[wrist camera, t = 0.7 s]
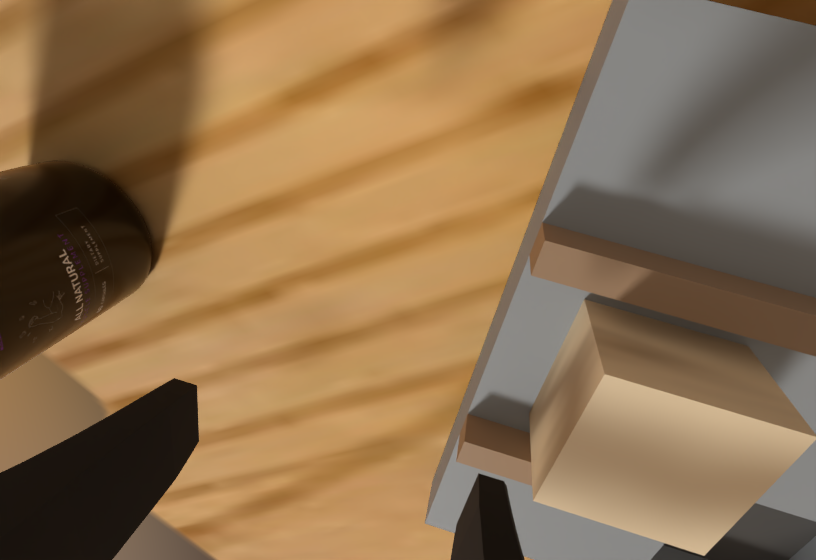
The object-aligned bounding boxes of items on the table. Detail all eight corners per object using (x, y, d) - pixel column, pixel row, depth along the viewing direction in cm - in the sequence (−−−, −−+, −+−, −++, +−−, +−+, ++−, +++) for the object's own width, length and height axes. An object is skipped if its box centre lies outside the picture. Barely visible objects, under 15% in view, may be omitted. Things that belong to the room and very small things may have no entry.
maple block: (667, 455, 18) (704, 555, 14) (529, 413, 18) (532, 500, 15) (748, 346, 15) (818, 437, 12) (584, 299, 16) (604, 374, 12)
